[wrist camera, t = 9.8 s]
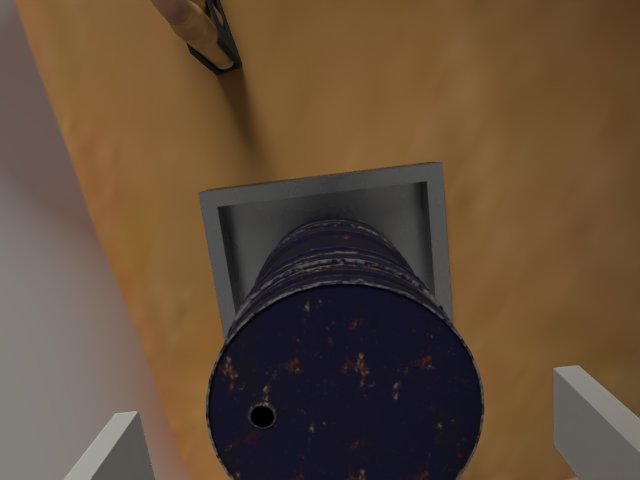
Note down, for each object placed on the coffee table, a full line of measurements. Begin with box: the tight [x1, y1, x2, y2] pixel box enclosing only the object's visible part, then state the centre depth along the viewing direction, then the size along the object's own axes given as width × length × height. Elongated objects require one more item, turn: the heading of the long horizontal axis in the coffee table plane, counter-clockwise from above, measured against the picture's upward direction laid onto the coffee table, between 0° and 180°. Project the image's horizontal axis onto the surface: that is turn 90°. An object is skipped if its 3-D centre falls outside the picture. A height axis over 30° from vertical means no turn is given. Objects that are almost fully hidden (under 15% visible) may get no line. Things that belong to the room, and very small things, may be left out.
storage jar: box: [206, 216, 484, 480], centre depth 22 cm, size 10×10×15 cm
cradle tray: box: [198, 162, 453, 339], centre depth 29 cm, size 15×15×2 cm
